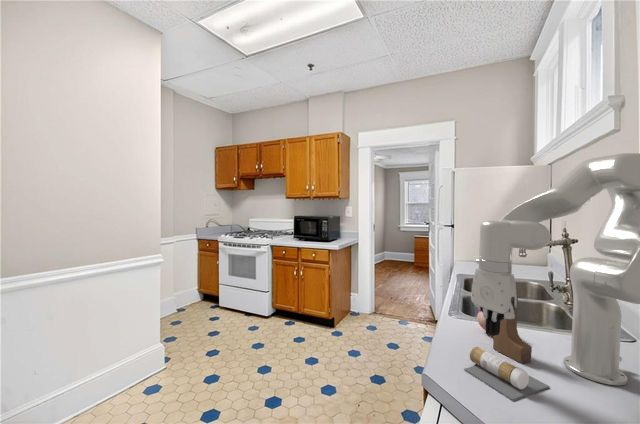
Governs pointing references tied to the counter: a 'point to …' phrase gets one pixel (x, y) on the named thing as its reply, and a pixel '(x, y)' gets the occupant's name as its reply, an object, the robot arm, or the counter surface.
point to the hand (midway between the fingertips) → (492, 333)
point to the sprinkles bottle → (500, 368)
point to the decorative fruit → (481, 319)
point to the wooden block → (511, 341)
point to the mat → (506, 383)
